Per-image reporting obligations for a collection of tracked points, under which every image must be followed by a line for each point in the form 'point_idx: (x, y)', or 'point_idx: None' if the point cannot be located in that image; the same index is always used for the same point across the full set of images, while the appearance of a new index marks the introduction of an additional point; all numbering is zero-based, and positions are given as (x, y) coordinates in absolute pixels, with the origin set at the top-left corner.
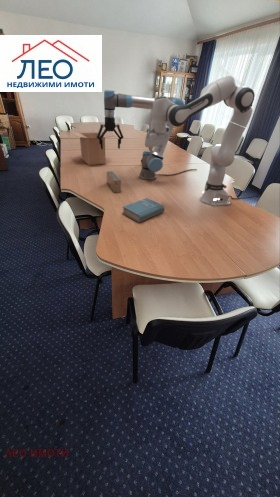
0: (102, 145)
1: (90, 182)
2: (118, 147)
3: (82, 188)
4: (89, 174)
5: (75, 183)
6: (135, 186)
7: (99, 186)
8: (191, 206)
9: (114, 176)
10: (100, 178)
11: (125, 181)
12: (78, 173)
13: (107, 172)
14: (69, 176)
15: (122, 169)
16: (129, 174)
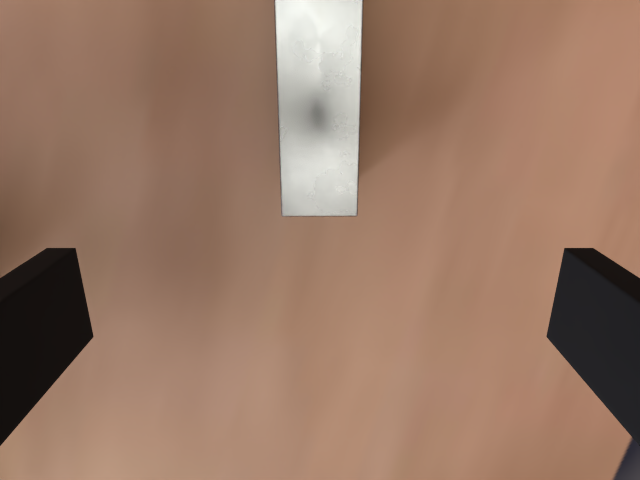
0: (631, 292)
1: (494, 224)
2: (71, 302)
3: (620, 89)
4: (438, 404)
5: (629, 227)
6: (83, 16)
7: (448, 104)
8: None
9: (314, 7)
10: (375, 300)
11: (161, 180)
12: (517, 438)
13: (357, 183)
14: None
15: (125, 465)
16: None
